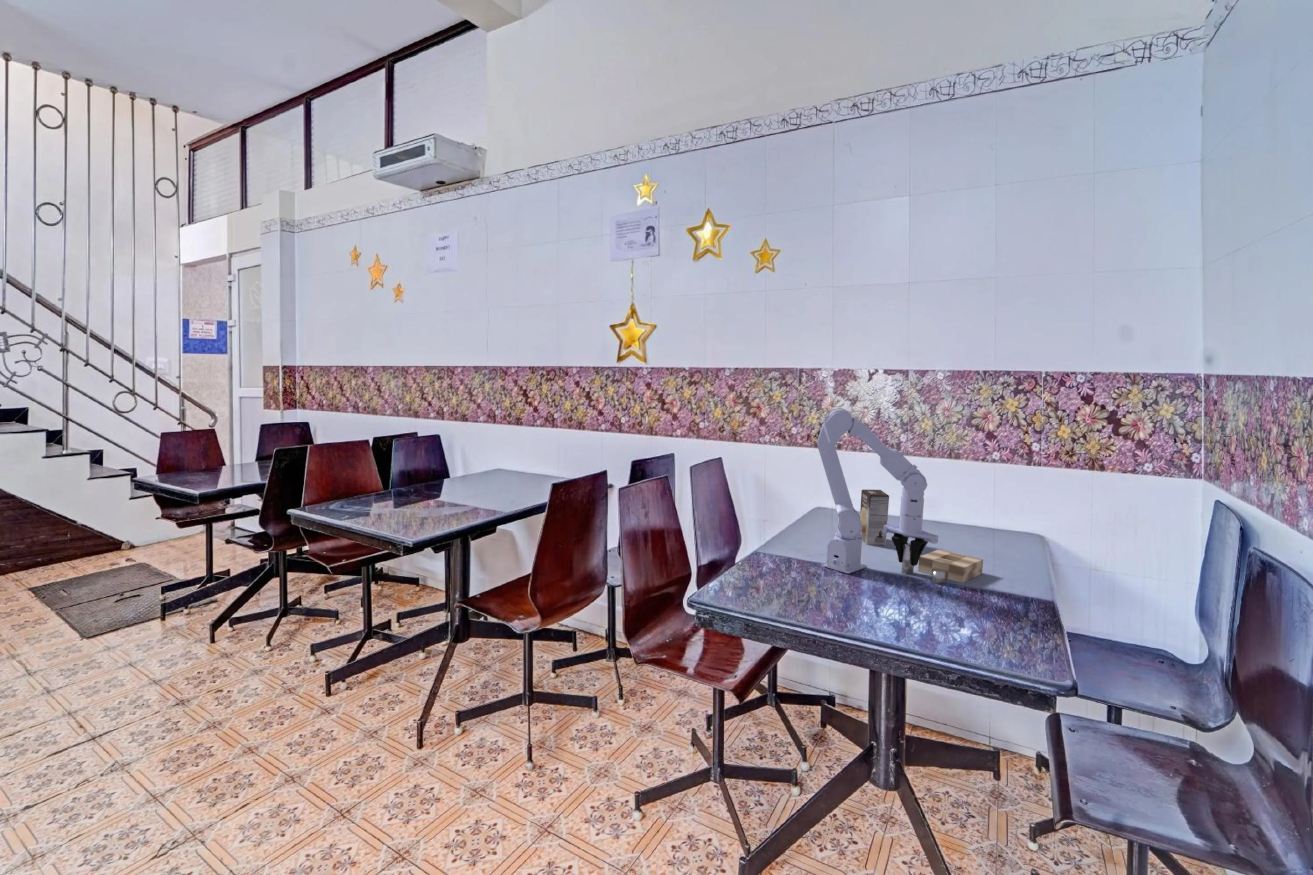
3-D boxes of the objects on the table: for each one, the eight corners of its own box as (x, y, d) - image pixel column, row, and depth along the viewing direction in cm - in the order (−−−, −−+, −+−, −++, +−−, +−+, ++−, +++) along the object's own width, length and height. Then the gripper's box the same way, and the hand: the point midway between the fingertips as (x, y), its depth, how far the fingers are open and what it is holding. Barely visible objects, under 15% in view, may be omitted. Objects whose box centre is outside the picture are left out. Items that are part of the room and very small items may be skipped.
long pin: (909, 575, 168) (911, 546, 167) (899, 572, 170) (901, 543, 169) (915, 573, 170) (917, 544, 169) (904, 570, 172) (906, 541, 171)
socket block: (962, 582, 163) (963, 567, 162) (918, 570, 172) (919, 556, 172) (981, 573, 171) (983, 559, 170) (938, 562, 180) (939, 548, 179)
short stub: (941, 585, 161) (942, 574, 160) (929, 582, 163) (930, 571, 163) (946, 583, 163) (947, 572, 162) (935, 579, 165) (936, 568, 164)
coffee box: (857, 536, 206) (860, 488, 204) (877, 537, 206) (880, 489, 204) (866, 544, 197) (869, 494, 195) (887, 545, 196) (890, 495, 195)
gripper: (945, 517, 165) (941, 567, 167) (893, 507, 176) (890, 554, 178) (932, 521, 161) (928, 572, 162) (880, 510, 172) (877, 558, 173)
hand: (908, 563), depth 170 cm, fingers closed on long pin, 3 cm apart
